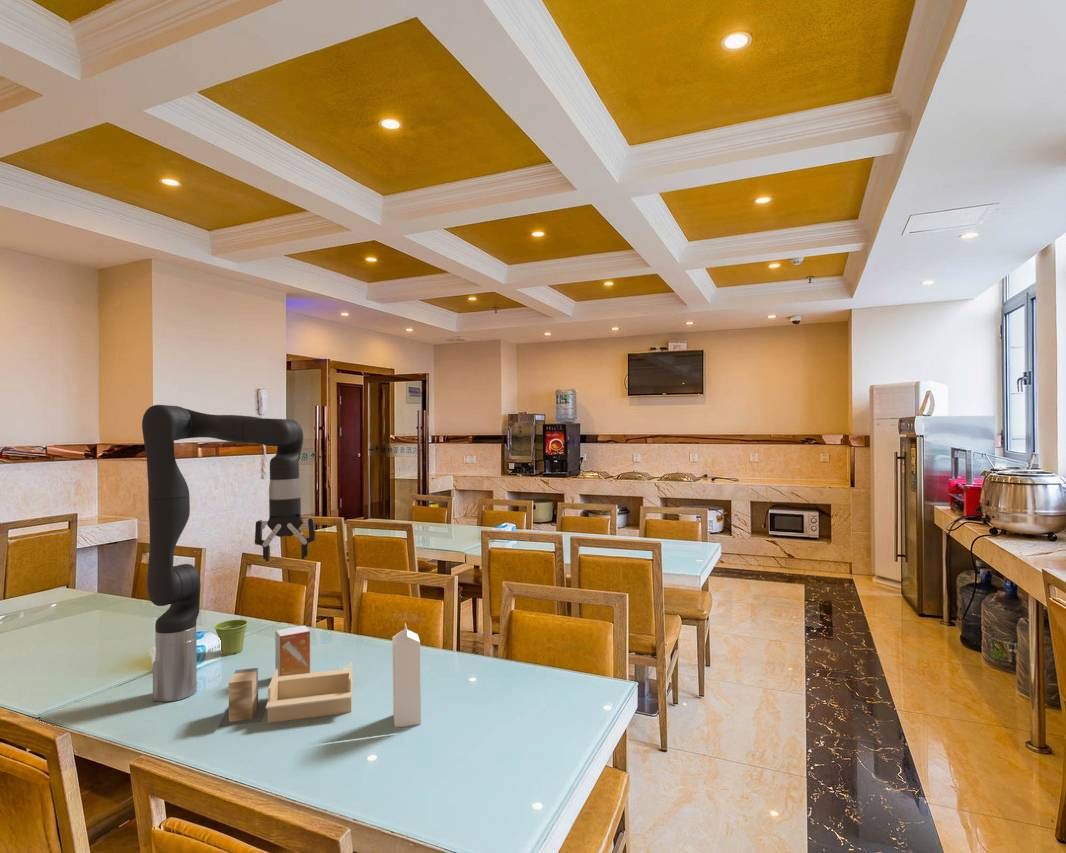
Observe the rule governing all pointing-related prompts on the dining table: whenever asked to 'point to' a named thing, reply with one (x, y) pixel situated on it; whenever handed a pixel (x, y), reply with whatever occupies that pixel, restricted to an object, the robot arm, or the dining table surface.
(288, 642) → the small box
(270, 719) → the carton
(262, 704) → the slate mat
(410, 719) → the milk
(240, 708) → the block
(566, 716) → the dining table surface
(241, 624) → the plant pot
